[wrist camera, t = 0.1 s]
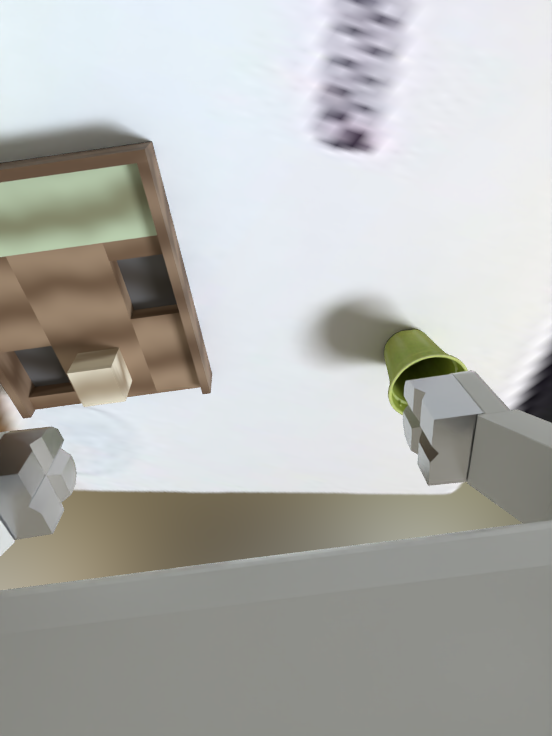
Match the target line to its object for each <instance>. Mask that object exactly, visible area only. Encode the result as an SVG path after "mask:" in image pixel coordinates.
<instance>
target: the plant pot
mask: <svg viewBox="0 0 552 736" xmlns="http://www.w3.org/2000/svg"><path fill="white" fill-rule="evenodd" d="M384 358H385V362H386V366H387V370H388V375H389V380H390V386H389V390H388V398H389V401H390V404H391V406H392V407H393V409H394V410H395V411H397V412H398V413H400V414H401V415H403V411H404V410H405V408H406V407H407V406H408V403H407V401H406V399H405V397H404V386H405V382H406V381H407V380H414V379H421V378H427V377H434V376H441V375H448V374H451V373H457V372H463V371H468V370H467V368H466V366H465V365H464V364H463V363H462V362H461V361H460V360H459V359H457V358H456V357H453V356H451V355H448V354H446V353H445V352H444V351H443V350H442V349H440V348H439V347H438V346H437V345H436V344H435V343H434V342H433V341H432V340H431V339H430V338H429V337H428V336H427V335H426V334H425V333H424V332H422V331H420V330H416V329H413V330H405V331H400V332H398V333H396V334H395V335H393V336H392V337H391V338H390V339H389V340H388V342H387V343H386V345H385V349H384Z"/></svg>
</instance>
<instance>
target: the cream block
mask: <svg viewBox="0 0 552 736" xmlns="http://www.w3.org/2000/svg"><path fill="white" fill-rule="evenodd" d="M67 375H68V377H69V379H70V381H71V383H72V385H73V387H74V389H75V391H76V393H77V394H78V396H79V398H80V400H81V402H82V404H83V406H84V407H87V406H94V405H102V404H109V403H116V402H124V401H126V398H127V395H128V392H129V389H130V386H131V383H132V379H131V376H130V374H129V371H128V369H127V366H126V364H125V361H124V359H123V356H122V354H121V351H120V349H119V348H113V349H106V350H99V351H91V352H84V353H78V354H77V355H76V357H75V359H74V361H73V363H72V365H71V367H70V369H69V370H68V372H67Z"/></svg>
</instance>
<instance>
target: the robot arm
mask: <svg viewBox="0 0 552 736" xmlns="http://www.w3.org/2000/svg"><path fill="white" fill-rule="evenodd" d="M404 397H405V399H406V401H407V403H408V406H407V407H406V408H405V410H404V411H403V426H404V433H405V437H406V440H407V443H408V445H409V447H410V449H411V451H413V452H415V453H416V454H418V466H419V468H420V470H421V472H422V474H423V476H424V478H425V480H426V482H427V484H428V486H429V485H439V484H449V483H458V482H468V484H469V485H470V486H472V487H473V488H475V489H476V490H477V491H479V492H480V493H481V494H483V495H484V496H486V497H487V498H488V499H490V500H491V501H492V502H494V503H495V504H497V505H498V506H499V507H501V508H502V509H504V510H505V511H506V512H508V513H509V514H511V515H512V516H513V517H515V518H516V519H518V520H519V521H520V522H522V523H523V524H518V525H509V526H502V527H493V528H486V529H478V530H471V531H463V532H455V533H447V534H441V535H432V536H425V537H417V538H410V539H402V540H393V541H385V542H377V543H370V544H362V545H354V546H345V547H337V548H329V549H322V550H313V551H305V552H298V553H290V554H282V555H274V556H266V557H258V558H251V559H242V560H234V561H227V562H220V563H211V564H204V565H196V566H188V567H180V568H173V569H165V570H157V571H149V572H141V573H133V574H126V575H118V576H110V577H103V578H94V579H87V580H79V581H71V582H63V583H56V584H47V585H39V586H32V587H24V588H16V589H8V590H1V591H0V736H552V423H550V422H547V421H545V420H542V419H540V418H537V417H535V416H532V415H530V414H527V413H525V412H522V411H520V410H510V409H509V408H508V407H507V406H506V405H505V404H504V403H503V402H502V401H501V400H500V398H499V397H498V396H497V395H496V394H495V393H494V392H493V391H492V390H491V388H490V387H489V386H488V385H487V384H486V383H485V382H484V381H483V380H482V378H481V377H480V376H479V375H478V374H477V373H476V372H474V371H472V370H470V371H463V372H457V373H451V374H448V375H441V376H434V377H427V378H421V379H414V380H407V381H406V382H405V386H404ZM63 441H64V439H63V438H62V436H61V434H60V432H59V430H58V429H56V428H54V427H44V428H35V429H25V430H16V431H10V432H0V556H1V555H2V554H3V553H4V552H5V551H6V550H7V549H8V548H9V547H10V546H11V545H12V544H13V543H14V542H15V541H14V540H17V539H23V538H30V537H36V536H42V535H49V534H53V532H54V530H55V528H56V526H57V524H58V522H59V520H60V517H61V515H62V513H63V511H64V508H63V506H62V504H61V502H63V501H64V500H65V499H66V498H67V497H69V496H70V495H71V494H72V491H73V489H74V487H75V484H76V474H77V472H76V467H75V462H74V460H73V458H72V456H71V454H69V453H67V452H66V451H64V450H63V449H61V447H62V444H63Z"/></svg>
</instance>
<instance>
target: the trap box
mask: <svg viewBox="0 0 552 736" xmlns="http://www.w3.org/2000/svg"><path fill="white" fill-rule="evenodd" d="M113 348H119V349H120V351H121V354H122V356H123V359H124V361H125V364H126V366H127V369H128V371H129V374H130V376H131V379H132V383H131V386H130V389H129V392H128V395H127V397H131V396H139V395H146V394H154V393H161V392H168V391H176V390H183V389H190V388H198V387H201V390H202V394H208V393H211V381H212V372H211V368H210V364H209V360H208V356H207V352H206V349H205V345H204V341H203V337H202V333H201V329H200V325H199V321H198V318H197V314H196V310H195V306H194V302H193V298H192V294H191V291H190V287H189V283H188V279H187V275H186V271H185V267H184V263H183V260H182V256H181V252H180V248H179V244H178V240H177V236H176V232H175V229H174V225H173V221H172V217H171V213H170V209H169V205H168V202H167V198H166V194H165V190H164V186H163V182H162V178H161V174H160V171H159V167H158V163H157V159H156V155H155V151H154V147H153V143H152V142H145V143H138V144H131V145H124V146H117V147H110V148H103V149H96V150H89V151H82V152H75V153H68V154H61V155H54V156H47V157H40V158H33V159H26V160H19V161H12V162H5V163H0V383H1V385H2V386H3V388H4V389H5V391H6V392H7V394H8V395H9V397H10V399H11V400H12V402H13V403H14V405H15V406H16V408H17V410H18V411H19V413H20V414H21V416H22V417H23V418H30V417H31V416H32V415H33V413H34V411H35V409H43V408H50V407H57V406H65V405H72V404H80V403H82V402H81V400H80V398H79V396H78V394H77V393H76V391H75V389H74V387H73V385H72V383H71V381H70V379H69V377H68V375H67V372H68V370H69V369H70V367H71V365H72V363H73V361H74V359H75V357H76V355H77V354H78V353H84V352H91V351H99V350H106V349H113Z"/></svg>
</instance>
